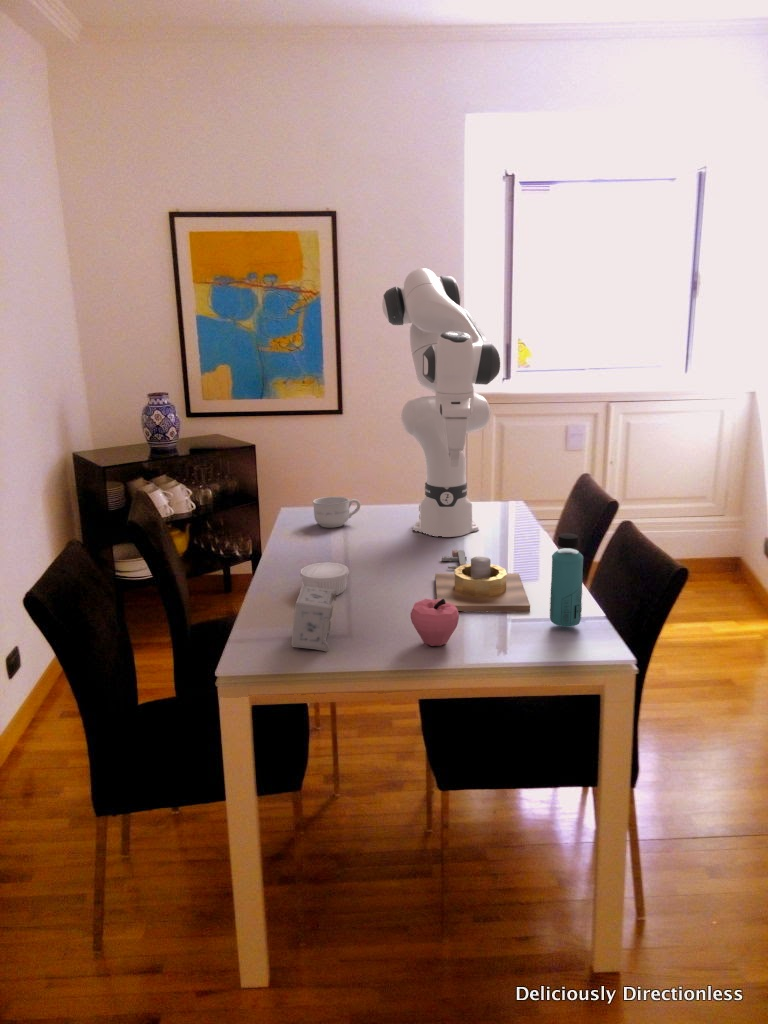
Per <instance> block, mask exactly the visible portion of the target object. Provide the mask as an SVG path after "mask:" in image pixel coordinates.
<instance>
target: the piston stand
mask: <svg viewBox="0 0 768 1024" xmlns="http://www.w3.org/2000/svg"><path fill="white" fill-rule="evenodd" d="M491 561H492V559H491V558H489V557H486V556H474V557H471V559H470V564H471V577H473V578H490V564H492V563H491ZM506 573H507V583H506V591H505V592H504V593H503V594H501V595H499V596H494V597H490V598H474V597H469V596H464V595H462V594H460V593H458V592H456V591H455V586H454V579H455V573H435V574H434V575H435V577H434V578H435V580H436V581H435V580H434V581H435V595H436V594H437V595H436V599H441V600H442V599H444V600H445V602H448V603H452V604H454V605H455V607H456V608H457V610H458V611H480V612H479V613H482V612H481V611H484V612H483V613H493V612H492V611H495V612H494V613H497V612H496V611H501V612H500V613H530V612H531V603H530V601H529V598H528V596H527V592H526V589H525V587H524V583H523V582H522V579H521V576H520V573H514V572H513V573H510V572H509V573H508V572H506ZM486 611H488V612H486Z"/></svg>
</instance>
